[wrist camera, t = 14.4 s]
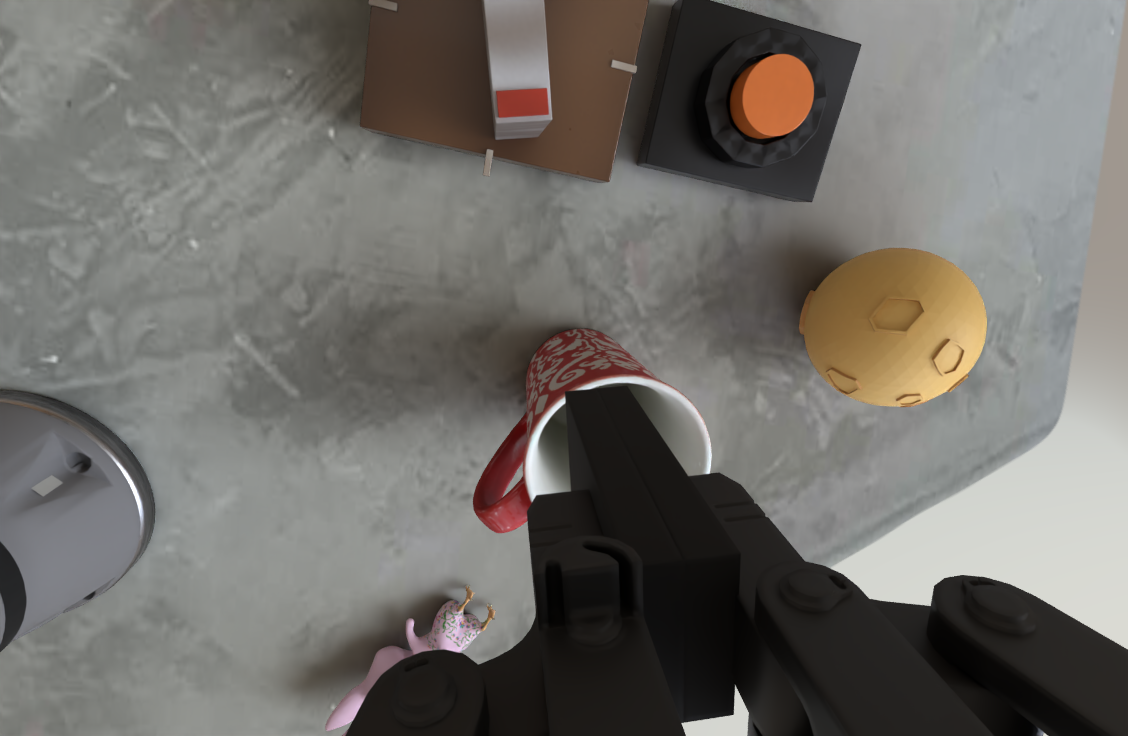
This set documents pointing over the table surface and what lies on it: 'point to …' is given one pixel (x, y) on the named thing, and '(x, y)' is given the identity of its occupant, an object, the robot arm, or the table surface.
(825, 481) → the table surface
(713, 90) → the button housing
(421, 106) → the plate
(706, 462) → the mug
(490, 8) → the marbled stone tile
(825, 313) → the stress ball
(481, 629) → the rabbit figure
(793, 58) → the button
